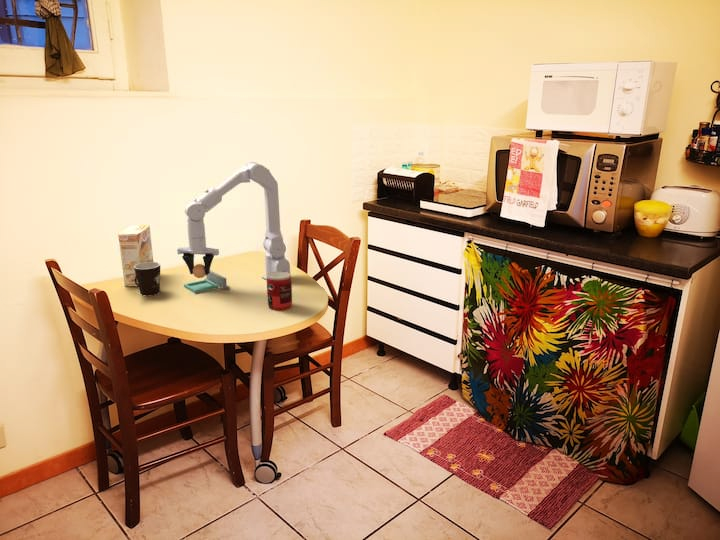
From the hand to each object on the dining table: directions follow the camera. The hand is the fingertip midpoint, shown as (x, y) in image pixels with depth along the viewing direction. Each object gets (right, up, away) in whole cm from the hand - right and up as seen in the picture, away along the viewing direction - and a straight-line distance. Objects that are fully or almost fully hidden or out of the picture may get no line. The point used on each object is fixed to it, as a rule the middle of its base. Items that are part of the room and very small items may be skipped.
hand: (200, 273), depth 194 cm
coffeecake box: (-25, -3, +10) cm, 27 cm away
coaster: (0, -5, +2) cm, 5 cm away
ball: (0, -1, +1) cm, 2 cm away
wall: (+5, -4, +5) cm, 8 cm away
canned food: (+31, -11, -16) cm, 36 cm away
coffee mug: (-17, -7, -5) cm, 19 cm away
